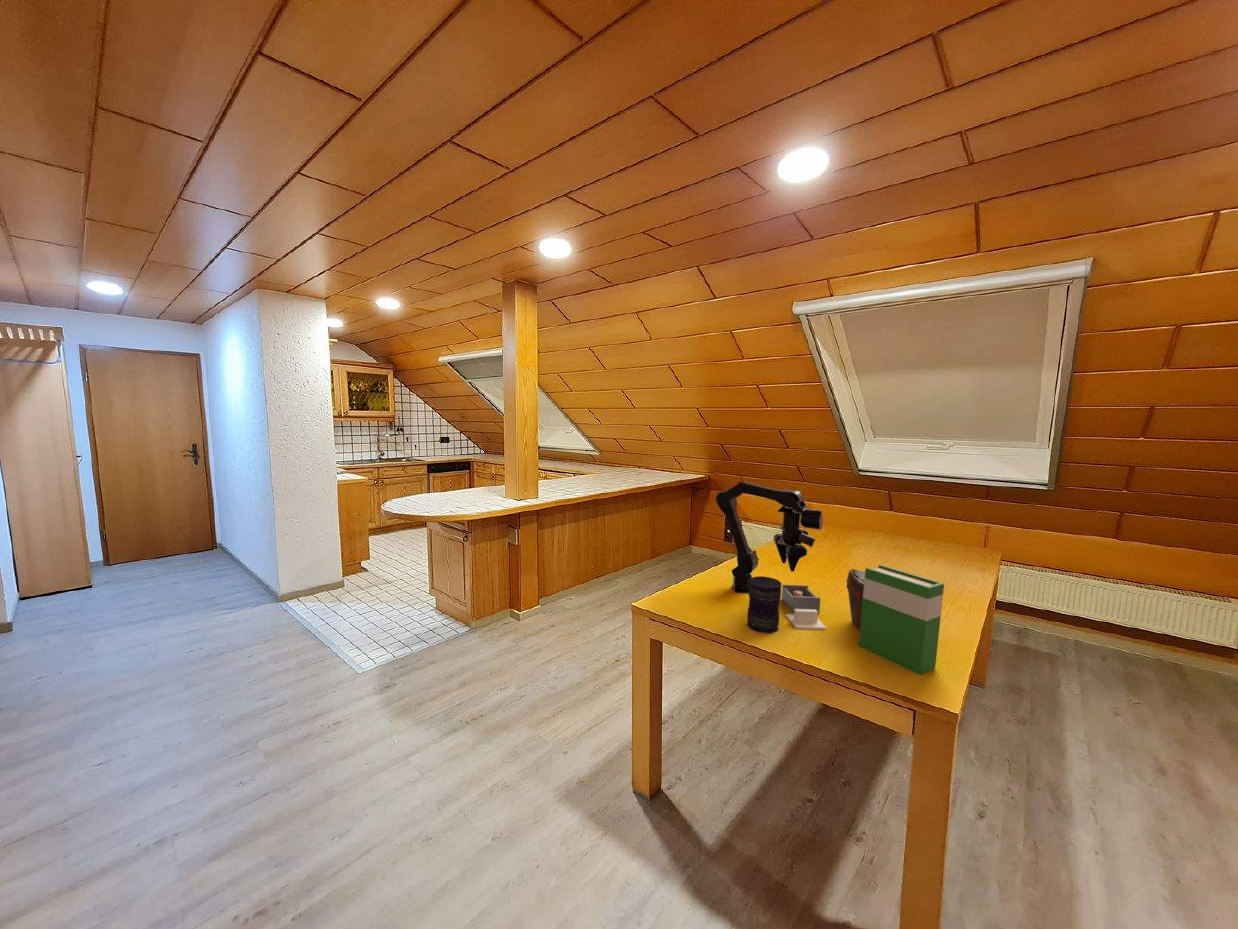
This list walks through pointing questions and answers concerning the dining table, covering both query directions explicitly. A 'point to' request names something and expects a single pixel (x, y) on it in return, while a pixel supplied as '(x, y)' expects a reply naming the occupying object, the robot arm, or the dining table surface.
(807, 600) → the grey open box
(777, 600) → the storage jar
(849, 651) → the dining table surface
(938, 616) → the hardback book
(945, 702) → the dining table surface
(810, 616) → the lid
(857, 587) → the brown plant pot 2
